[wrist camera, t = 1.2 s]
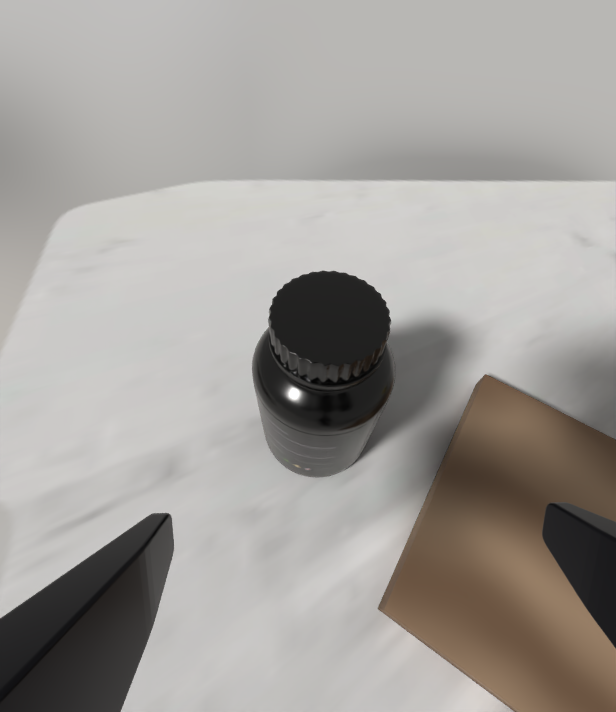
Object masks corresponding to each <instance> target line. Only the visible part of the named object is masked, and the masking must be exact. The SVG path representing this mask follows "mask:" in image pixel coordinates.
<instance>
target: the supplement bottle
mask: <svg viewBox="0 0 616 712" xmlns="http://www.w3.org/2000/svg"><path fill="white" fill-rule="evenodd" d="M389 313H390V311H389V309H388V308H387V307H386V301H385V300H383V299H382V297H381V294H380V293H379V292H377V291H376V290H375V288H374V287H373V286H371V285H369V284H367V282H366V281H364V280H361V279H358V278H357V277H356V276H352V275H348V274H346V273H339V272H336V271H330V272H327V271H320V272H311V273H309V274H304V275H301V276H300V277H299V278H294V279H292V280H291V281H290V282H289V283H287V284H284V286H283V288H282V289H280V290H279V291H278V292H277V296H276V297H274V298H273V300H272V305H271V307H270V309H269V315H270V316H269V319H268V323H269V327H268V329H267V330H266V331H265V332H264V334H263V335H262V337H261V338H260V340H259V342H258V344H257V346H256V349H255V352H254V356H253V361H252V373H253V382H254V387H255V392H256V396H257V401H258V406H259V410H260V415H261V420H262V425H263V429H264V433H265V437H266V441H267V443H268V446H269V448H270V450H271V452H272V453H273V455H274V456H275V457H276V459H277V460H278V461H279V462H280V463H281V464H282V465H284V466H285V467H286V468H288V469H289V470H291V471H293V472H295V473H297V474H300V475H303V476H308V477H327V476H331V475H334V474H337V473H339V472H341V471H343V470H345V469H346V468H348V467H349V466H350V465H352V464H353V463H354V462H355V461H356V459H357V458H358V457H359V456H360V454H361V453H362V451H363V449H364V447H365V445H366V444H367V442H368V440H369V438H370V436H371V434H372V432H373V430H374V428H375V426H376V424H377V422H378V420H379V418H380V416H381V414H382V412H383V410H384V408H385V406H386V404H387V402H388V400H389V397H390V395H391V392H392V389H393V385H394V381H395V362H394V358H393V354H392V351H391V349H390V346H389V344H388V342H387V340H388V337H389V334H390V324H391V319H390V317H389Z"/></svg>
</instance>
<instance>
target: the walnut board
mask: <svg viewBox="0 0 616 712" xmlns="http://www.w3.org/2000/svg"><path fill="white" fill-rule="evenodd" d="M551 502H567V503H570V504H573V505H575V506H577V507H580V508H582V509H585V510H587V511H590V512H592V513H595V514H597V515H600V516H602V517H605V518H607V519H610V520H612V521H615V522H616V440H615V439H613V438H611V437H609V436H607V435H605V434H603V433H601V432H599V431H597V430H595V429H593V428H591V427H589V426H587V425H585V424H583V423H581V422H579V421H577V420H576V419H574V418H572V417H570V416H568V415H566V414H564V413H562V412H560V411H558V410H556V409H554V408H552V407H550V406H548V405H546V404H544V403H542V402H540V401H538V400H536V399H534V398H532V397H530V396H528V395H526V394H524V393H522V392H520V391H518V390H516V389H514V388H512V387H510V386H508V385H506V384H504V383H502V382H500V381H498V380H496V379H494V378H492V377H490V376H488V375H486V374H485V375H484V376H483V377H482V378H481V380H480V381H479V382H478V383H477V384H476V386H475V388H474V390H473V393H472V395H471V397H470V399H469V402H468V404H467V406H466V409H465V411H464V413H463V415H462V418H461V420H460V422H459V424H458V427H457V429H456V431H455V434H454V436H453V438H452V440H451V443H450V445H449V447H448V450H447V452H446V454H445V456H444V459H443V461H442V463H441V466H440V468H439V470H438V472H437V475H436V477H435V479H434V481H433V484H432V486H431V488H430V491H429V493H428V495H427V497H426V500H425V502H424V504H423V507H422V509H421V511H420V513H419V516H418V518H417V520H416V523H415V525H414V527H413V529H412V532H411V534H410V536H409V538H408V541H407V543H406V545H405V548H404V550H403V552H402V554H401V557H400V559H399V561H398V564H397V566H396V568H395V570H394V573H393V575H392V577H391V580H390V582H389V584H388V586H387V589H386V591H385V593H384V595H383V598H382V600H381V602H380V605H379V607H378V609H379V610H380V611H381V612H383V613H384V614H385V615H387V616H388V617H389V618H391V619H392V620H393V621H395V622H396V623H397V624H399V625H400V626H401V627H403V628H404V629H405V630H407V631H408V632H409V633H411V634H412V635H413V636H415V637H416V638H417V639H419V640H420V641H421V642H423V643H424V644H425V645H427V646H428V647H429V648H431V649H432V650H433V651H435V652H436V653H437V654H439V655H440V656H441V657H443V658H444V659H445V660H447V661H448V662H449V663H451V664H452V665H453V666H455V667H456V668H457V669H459V670H460V671H461V672H463V673H464V674H465V675H467V676H468V677H469V678H471V679H472V680H473V681H475V682H476V683H477V684H479V685H480V686H481V687H483V688H484V689H485V690H487V691H488V692H489V693H491V694H492V695H493V696H495V697H496V698H497V699H499V700H500V701H501V702H503V703H504V704H505V705H507V706H508V707H509V708H511V709H512V710H513V711H515V712H616V648H615V647H614V646H613V644H612V643H611V642H610V640H609V639H608V638H607V636H606V635H605V634H604V632H603V631H602V630H601V628H600V627H599V626H598V624H597V623H596V622H595V620H594V619H593V617H592V616H591V615H590V613H589V612H588V610H587V609H586V607H585V606H584V604H583V603H582V601H581V600H580V598H579V597H578V595H577V594H576V592H575V591H574V589H573V587H572V586H571V584H570V583H569V581H568V579H567V578H566V576H565V575H564V573H563V571H562V570H561V568H560V567H559V565H558V564H557V562H556V560H555V559H554V557H553V556H552V554H551V552H550V551H549V549H548V548H547V546H546V544H545V543H544V540H543V537H542V528H543V522H544V516H545V509H546V506H547V505H548V504H549V503H551Z"/></svg>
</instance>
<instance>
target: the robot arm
mask: <svg viewBox="0 0 616 712" xmlns="http://www.w3.org/2000/svg"><path fill="white" fill-rule="evenodd" d="M542 537H543V540H544V543H545V544H546V546H547V548H548V549H549V551H550V552H551V554H552V556H553V557H554V559H555V560H556V562H557V564H558V565H559V567H560V568H561V570H562V571H563V573H564V575H565V576H566V578H567V579H568V581H569V583H570V584H571V586H572V587H573V589H574V591H575V592H576V594H577V595H578V597H579V598H580V600H581V601H582V603H583V604H584V606H585V607H586V609H587V610H588V612H589V613H590V615H591V616H592V617H593V619H594V620H595V622H596V623H597V624H598V626H599V627H600V628H601V630H602V631H603V632H604V634H605V635H606V636H607V638H608V639H609V640H610V642H611V643H612V644H613V646H614V647H615V648H616V522H615V521H612V520H610V519H607V518H605V517H602V516H600V515H597V514H595V513H592V512H590V511H587V510H585V509H582V508H580V507H577V506H575V505H573V504H570V503H567V502H551V503H549V504H548V505H547V506H546V509H545V516H544V522H543V528H542ZM173 551H174V539H173V527H172V518H171V515H170V514H169V513H154V514H151V515H149V516H148V517H146V518H145V519H143V520H142V521H140V522H139V523H137V524H136V525H135V526H133V527H132V528H130V529H129V530H127V531H126V532H124V533H123V534H122V535H120V536H119V537H117V538H116V539H114V540H113V541H111V542H110V543H109V544H107V545H106V546H104V547H103V548H101V549H100V550H99V551H97V552H96V553H94V554H93V555H91V556H90V557H88V558H87V559H86V560H84V561H83V562H81V563H80V564H78V565H77V566H75V567H74V568H73V569H71V570H70V571H68V572H67V573H65V574H64V575H62V576H61V577H60V578H58V579H57V580H55V581H54V582H52V583H51V584H49V585H48V586H47V587H45V588H44V589H42V590H41V591H39V592H38V593H36V594H35V595H34V596H32V597H31V598H29V599H28V600H26V601H25V602H23V603H22V604H21V605H19V606H18V607H16V608H15V609H13V610H12V611H10V612H9V613H8V614H6V615H5V616H3V617H2V618H0V712H121V709H122V706H123V704H124V701H125V699H126V696H127V693H128V691H129V688H130V686H131V683H132V680H133V678H134V675H135V673H136V670H137V667H138V665H139V662H140V660H141V657H142V654H143V652H144V649H145V647H146V644H147V642H148V639H149V636H150V633H151V630H152V628H153V624H154V621H155V618H156V614H157V611H158V607H159V603H160V600H161V596H162V592H163V589H164V585H165V582H166V578H167V574H168V571H169V567H170V564H171V560H172V556H173Z"/></svg>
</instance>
